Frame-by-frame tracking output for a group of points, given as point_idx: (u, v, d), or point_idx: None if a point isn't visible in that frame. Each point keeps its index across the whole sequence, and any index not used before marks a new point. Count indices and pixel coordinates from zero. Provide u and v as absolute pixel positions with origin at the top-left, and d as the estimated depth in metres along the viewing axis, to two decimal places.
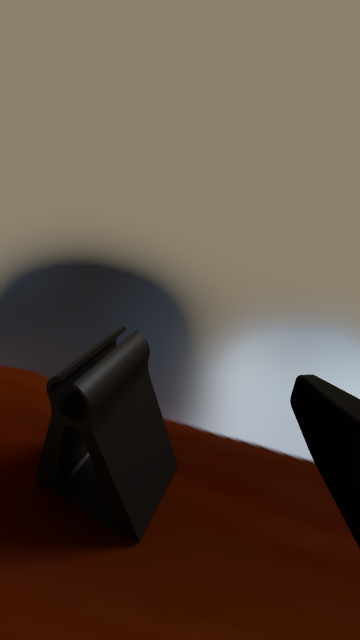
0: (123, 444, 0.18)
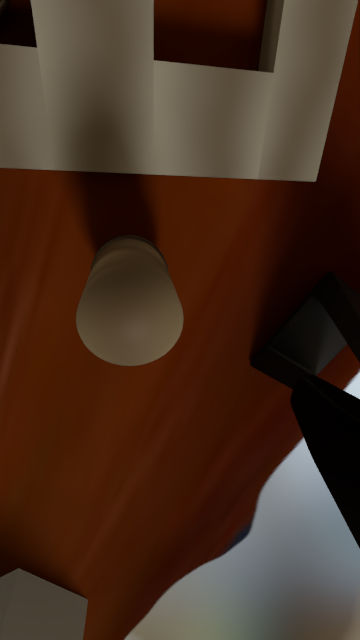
0: None
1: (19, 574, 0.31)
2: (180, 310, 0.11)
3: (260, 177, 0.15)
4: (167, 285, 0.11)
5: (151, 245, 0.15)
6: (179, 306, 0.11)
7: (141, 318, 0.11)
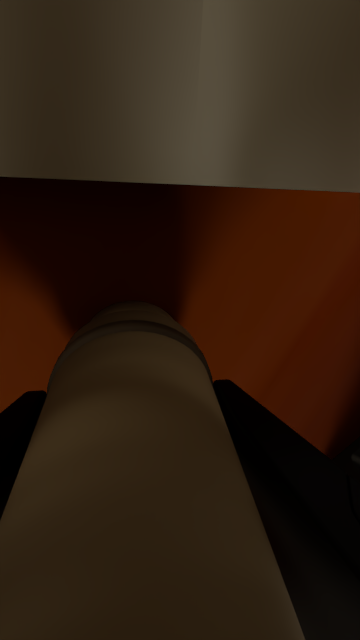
0: None
1: None
2: None
3: None
4: None
5: (181, 341, 0.07)
6: None
7: None
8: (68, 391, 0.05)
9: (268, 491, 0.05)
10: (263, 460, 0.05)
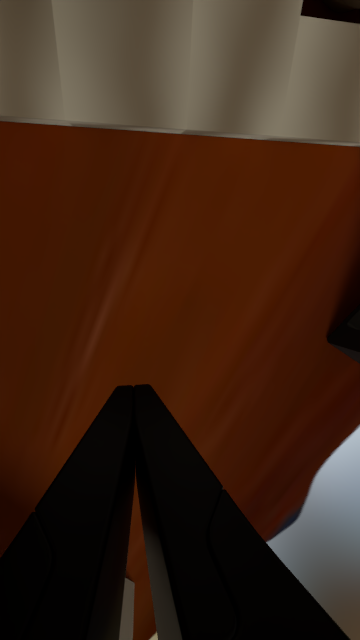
0: None
1: None
2: None
3: None
4: None
5: None
6: None
7: None
8: None
9: (147, 506, 0.05)
10: (144, 473, 0.05)
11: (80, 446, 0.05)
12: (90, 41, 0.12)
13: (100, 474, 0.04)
